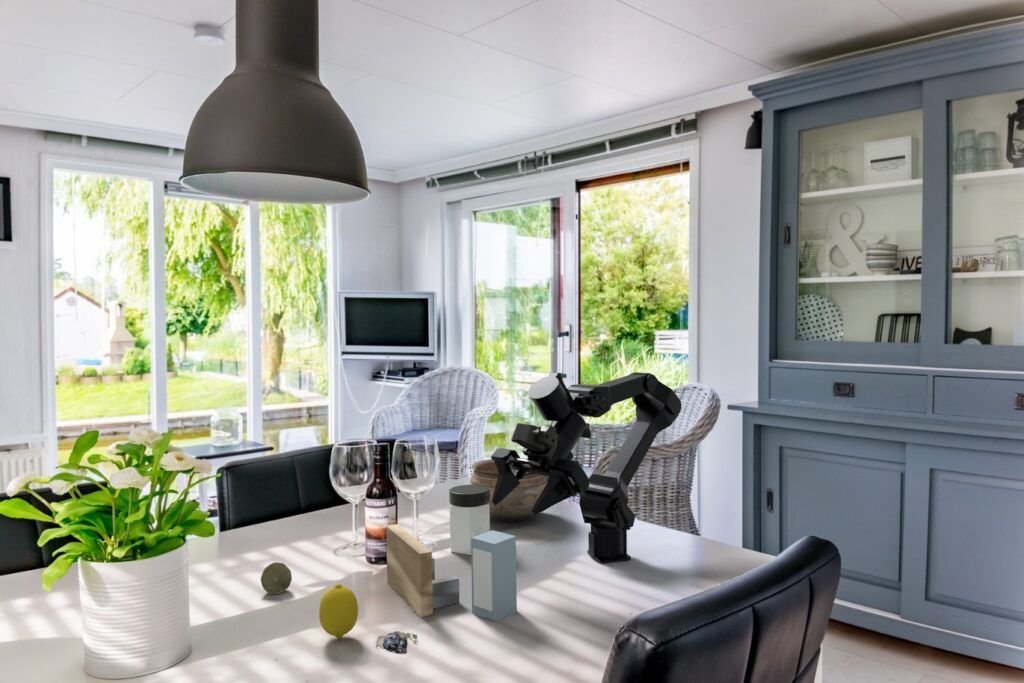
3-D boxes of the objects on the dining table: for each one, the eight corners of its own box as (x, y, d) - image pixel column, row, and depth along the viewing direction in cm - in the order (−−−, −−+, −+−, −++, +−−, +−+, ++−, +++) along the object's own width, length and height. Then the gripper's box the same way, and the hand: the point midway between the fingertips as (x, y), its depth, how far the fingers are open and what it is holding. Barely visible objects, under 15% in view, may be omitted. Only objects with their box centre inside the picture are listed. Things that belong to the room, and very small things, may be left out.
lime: (295, 591, 123) (295, 562, 123) (269, 599, 119) (268, 569, 119) (283, 584, 126) (282, 556, 126) (257, 592, 123) (256, 563, 122)
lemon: (323, 631, 107) (322, 578, 107) (360, 629, 107) (359, 576, 107) (316, 648, 101) (315, 592, 101) (356, 646, 102) (354, 590, 102)
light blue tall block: (493, 603, 117) (492, 530, 116) (516, 611, 113) (515, 536, 113) (471, 613, 113) (469, 538, 112) (494, 622, 109) (493, 544, 109)
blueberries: (409, 632, 107) (409, 619, 107) (433, 653, 100) (433, 639, 100) (366, 644, 104) (366, 631, 104) (388, 666, 97) (388, 652, 97)
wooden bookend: (427, 574, 130) (426, 519, 130) (465, 607, 115) (464, 546, 114) (387, 581, 126) (386, 525, 126) (420, 617, 111) (419, 553, 111)
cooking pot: (452, 510, 173) (452, 459, 173) (523, 500, 181) (522, 452, 181) (494, 538, 150) (493, 480, 150) (572, 526, 158) (572, 471, 158)
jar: (461, 558, 138) (459, 496, 138) (441, 547, 145) (440, 488, 145) (500, 549, 143) (499, 489, 143) (479, 539, 150) (478, 482, 150)
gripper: (501, 403, 130) (451, 468, 121) (582, 411, 117) (533, 485, 108) (528, 444, 135) (482, 510, 127) (608, 457, 122) (563, 531, 114)
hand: (512, 508), depth 119 cm, fingers open, 9 cm apart
